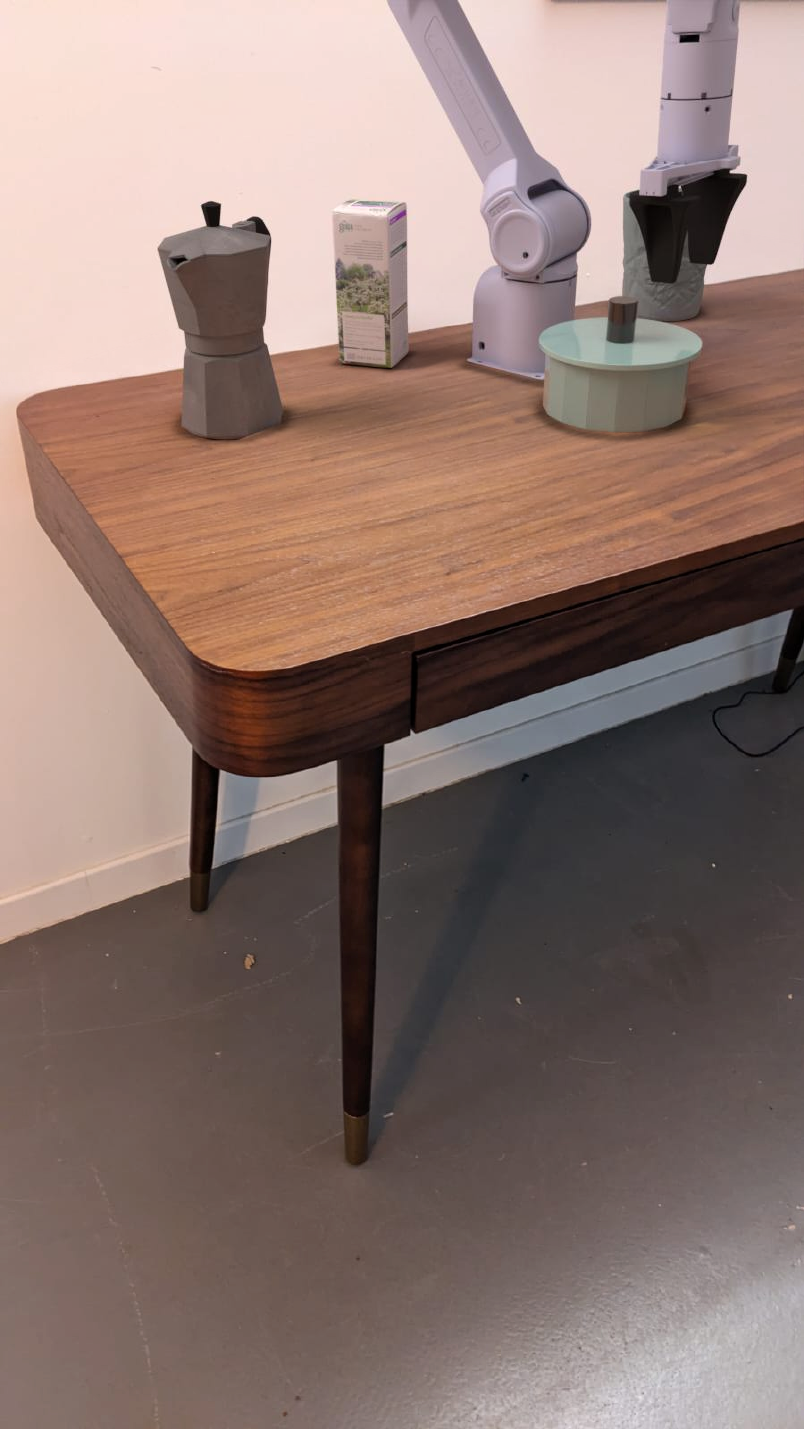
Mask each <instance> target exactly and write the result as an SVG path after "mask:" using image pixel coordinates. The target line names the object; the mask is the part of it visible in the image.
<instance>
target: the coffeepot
mask: <svg viewBox="0 0 804 1429" xmlns="http://www.w3.org/2000/svg"><path fill="white" fill-rule="evenodd" d="M200 207H201V211H202V215H203V218H204V222H205V225H204V226H201V227H198V228H194V229H190V230H187V231H183V232H179V233H177V234H173V235H170V236H167V237H164V238H163V239H162V241H161V242H160V244H159V245H158V246H157V253H158V256H159V260H160V264H161V267H162V271H163V274H164V279H165V282H166V285H167V290H168V294H169V297H170V301H171V305H172V308H173V312H174V315H175V320H176V323H177V327H178V329H180V330H181V331H183V334H184V335H183V336H184V343H185V345H184V346H185V349H184V354H183V371H182V372H183V374H182V375H183V376H182V398H181V399H182V401H181V427H182V428H183V429H185V430H186V431H187V432H189V433H190V434H193V435H194V436H196V437H197V436H198V437H201V438H205V439H211V440H212V439H214V440H239V439H243V438H244V439H245V438H247V437H249V436H252V435H254V434H257V433H259V432H262V431H265V430H267V429H271V428H273V427H275V426H278V425H281V423H282V420H283V418H282V417H283V413H284V407H283V404H282V399H281V396H280V391H279V388H278V384H277V380H276V375H275V372H274V366H273V364H272V360H271V359H272V358H271V355H270V350H269V346H268V344H267V343H266V342H265V335H264V334H265V333H264V326H265V324H266V320H267V308H268V307H267V306H268V288H269V272H270V258H271V250H272V236H271V232H270V230H269V229H268V226H267V225H266V223H265V222H264V220H263V219H262V218H261V217H260V216H255V215H252V216H251V217H248V218H247V219H245V220H240V221H239V220H238V221H237V222H235V223H233V224H231V226H226V225H221V214H222V213H221V212H222V203H221V202H217V201H213V200H208V201H206V202H203V203H201V204H200Z"/></svg>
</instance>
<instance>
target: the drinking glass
mask: <svg viewBox="0 0 804 1429" xmlns="http://www.w3.org/2000/svg"><path fill="white" fill-rule="evenodd" d="M637 190H638V189H635V190H632V191H631V190H630V191H628V192H625V193H624V194H623V197H622V240H623V257H622V267H623V272H622V288H621V296H628V297H633V298H636V299H638V309H637V318H639V319H647V320H654V321H660V322H679V321H685V320H689V319H690V320H691V319H693V318H695V317H697V316H698V314H699V312H700V311H701V305H702V301H703V294H704V290H705V289H704V288H705V275H706V271H707V270H706V269H707V267H708V265H707V264H695V263H690V259H689V253H688V231H687V235H686V238H685V243H684V248H683V254H682V260H681V266H680V271H679V274H678V277H677V280H676V282H675V283H660V282H652V281H651V278H650V273H649V267H648V261H647V255H646V250H645V245H644V240H643V237H642V233H641V230H640V227H639V224H638V222H637V219H636V217H635V215H634V213H633V211H632V209H631V207H630V206H629V195H630V193H632V192H634V191H637ZM679 192H682V189H681V187H679ZM682 196H683V193H682Z"/></svg>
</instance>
